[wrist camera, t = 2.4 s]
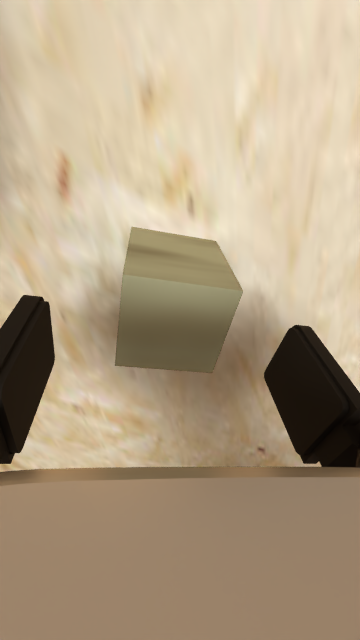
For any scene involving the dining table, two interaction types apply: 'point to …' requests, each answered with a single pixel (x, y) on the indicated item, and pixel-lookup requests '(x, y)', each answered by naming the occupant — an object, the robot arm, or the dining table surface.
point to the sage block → (174, 302)
